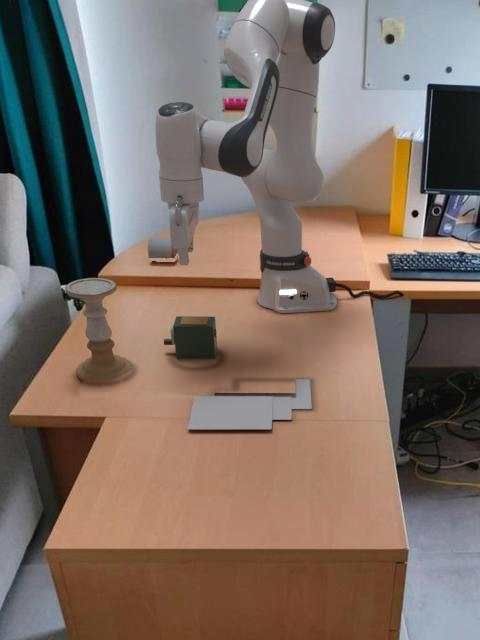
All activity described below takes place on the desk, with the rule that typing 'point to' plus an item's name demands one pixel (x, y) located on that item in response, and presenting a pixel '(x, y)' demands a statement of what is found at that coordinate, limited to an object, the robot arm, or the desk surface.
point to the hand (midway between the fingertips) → (187, 257)
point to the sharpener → (194, 337)
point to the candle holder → (97, 330)
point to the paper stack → (248, 408)
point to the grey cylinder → (161, 248)
